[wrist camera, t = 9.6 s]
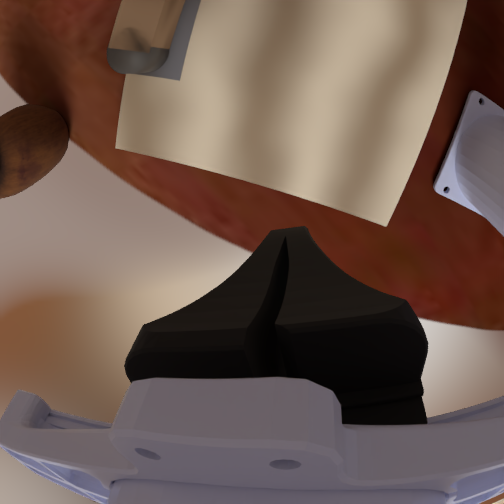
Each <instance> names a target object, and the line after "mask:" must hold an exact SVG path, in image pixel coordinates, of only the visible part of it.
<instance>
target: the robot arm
mask: <svg viewBox="0 0 504 504" xmlns="http://www.w3.org/2000/svg"><path fill="white" fill-rule="evenodd" d="M480 98H481V100H482V103H481V104H479V99H480ZM446 186H447V187H448V188H447V190H446V191H443V190H444V188H445V187H446ZM433 187H434V190H435V191H436V192H437V193H438V194H441V195H443V196H445V197H447V198H449V199H451V200H453V201H455V202H457V203H459V204H461V205H463V206H465V207H467V208H469V209H471V210H473V211H475V212H477V213H479V214H480V215H482V216H484V217H485V218H486V219H487V220H488V221H489V222H490V223H491V224H492V225H493V226H494V227H495V228H496V229H497V230H498V231H499V232H500V233H501V234H502V235H503V236H504V110H503V109H502V108H501V107H499V106H498V105H497V104H495V103H494V102H492V101H491V100H489V99H488V98H487V97H485V96H484V95H482V94H481V93H479V92H477V91H471V92H470V93H469V95H468V98H467V101H466V104H465V106H464V109H463V112H462V115H461V118H460V120H459V123H458V126H457V129H456V131H455V134H454V136H453V139H452V142H451V144H450V147H449V149H448V152H447V154H446V156H445V159H444V161H443V164H442V166H441V168H440V171H439V173H438V175H437V177H436V180H435V182H434V185H433ZM427 353H428V341H427V338H426V335H425V332H424V329H423V327H422V325H421V323H420V321H419V319H418V317H417V316H416V314H415V312H414V311H413V309H412V308H411V306H410V305H409V303H408V302H407V301H406V300H405V299H401V298H398V297H395V296H392V295H389V294H386V293H383V292H380V291H378V290H376V289H373V288H371V287H369V286H367V285H365V284H363V283H361V282H359V281H357V280H356V279H354V278H352V277H351V276H349V275H348V274H346V273H345V272H344V271H342V270H341V269H340V268H339V267H338V266H336V265H335V264H334V263H333V262H332V261H331V260H330V259H329V258H328V257H327V256H326V255H325V254H324V253H323V251H322V250H321V249H320V248H319V247H318V245H317V244H316V243H315V241H314V240H313V238H312V237H311V235H310V233H309V231H308V228H306V227H305V226H301V227H294V228H286V229H279V230H272V231H270V233H269V234H268V235H267V236H266V238H265V239H264V240H263V241H262V243H261V244H260V245H259V246H258V248H257V249H256V250H255V251H254V252H253V254H252V255H251V256H250V257H249V258H248V259H247V260H246V261H245V262H244V263H243V264H242V265H241V266H240V268H239V269H238V270H237V271H235V272H234V273H233V274H232V275H231V276H230V277H229V278H227V279H226V280H225V281H224V282H223V283H221V284H220V285H219V286H218V287H216V288H214V289H213V290H211V291H210V292H209V293H207V294H206V295H204V296H203V297H201V298H200V299H198V300H196V301H195V302H193V303H191V304H189V305H187V306H186V307H183V308H182V309H180V310H178V311H176V312H173V313H172V314H169V315H167V316H164V317H162V318H160V319H157V320H155V321H152V322H150V323H147V324H144V325H143V326H142V328H141V330H140V332H139V334H138V336H137V338H136V340H135V342H134V344H133V346H132V348H131V350H130V352H129V354H128V356H127V358H126V361H125V365H124V367H125V371H126V375H127V377H128V378H129V380H130V382H131V385H130V386H129V388H128V389H127V391H126V393H125V396H124V398H123V400H122V402H121V405H120V407H119V409H118V412H117V414H116V417H115V419H114V421H113V424H112V423H107V422H102V421H97V420H93V419H88V418H84V417H79V416H75V415H71V414H67V413H63V412H59V411H56V410H52V409H51V408H50V407H49V406H48V404H47V403H46V402H45V401H44V400H43V399H42V398H41V397H39V396H38V395H36V394H33V393H30V392H26V391H23V390H17V392H16V394H15V395H14V397H13V399H12V400H11V402H10V404H9V405H8V407H7V409H6V411H5V412H4V414H3V416H2V418H1V419H0V447H1V448H3V449H4V450H5V451H6V452H8V453H9V454H10V455H11V456H13V457H14V458H15V459H16V460H18V461H19V462H20V463H22V464H23V465H24V466H26V467H27V468H29V469H30V470H31V471H33V472H34V473H36V474H38V475H40V476H42V477H44V478H46V479H48V480H50V481H52V482H54V483H56V484H58V485H60V486H62V487H65V488H67V489H69V490H71V491H73V492H75V493H78V494H80V495H82V496H84V497H87V498H89V499H91V500H94V501H96V502H98V503H101V504H479V503H481V502H483V501H486V500H488V499H490V498H493V497H495V496H497V495H499V494H501V493H503V492H504V396H502V397H499V398H496V399H493V400H490V401H487V402H484V403H481V404H478V405H475V406H471V407H468V408H464V409H461V410H457V411H454V412H450V413H446V414H442V415H438V416H434V417H430V418H427V417H426V412H425V408H424V404H423V401H422V396H423V393H424V389H423V386H422V382H421V376H422V372H423V368H424V364H425V361H426V357H427Z"/></svg>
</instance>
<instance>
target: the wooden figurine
mask: <svg viewBox="0 0 504 504" xmlns="http://www.w3.org/2000/svg"><path fill="white" fill-rule="evenodd" d="M68 141H69V135H68V127H67V125H66V123H65V121H64V119H63V117H62V116H61V115H60V114H59V113H58V112H57V111H55V110H53V109H50V108H47V107H44V106H40V105H30V104H26V105H23V106H19V107H16V108H15V109H13V110H11V111H9V112H7V113H5V114H3V115H2V116H0V199H1V198H5V197H9V196H12V195H16V194H17V193H20V192H22V191H23V190H25V189H27V188H28V187H30V186H32V185H33V184H34V183H36V182H37V181H39V180H40V179H41V178H43V177H44V176H45V175H46V174H48V173H49V172H50V171H51V170H52V169H53V168H54V167H55V166H56V165H57V164H58V163H59V162H60V160H61V159H62V157H63V156H64V154H65V152H66V150H67V148H68Z"/></svg>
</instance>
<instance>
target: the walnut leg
mask: <svg viewBox="0 0 504 504" xmlns="http://www.w3.org/2000/svg"><path fill="white" fill-rule="evenodd" d="M184 3H185V0H122V2H121V5H120V8H119V11H118V14H117V18H116V21H115V25H114V28H113V32H112V35H111V39H110V42H109V45H108V48H107V60H108V63H109V65H110V66H111V68H112V69H113V70H115V71H116V72H118V73H121V74H131V73H147V72H153V71H155V70H157V69H159V68H160V67H161V66H162V65H163V64H164V63H165V62H166V60H167V58H168V55H169V49H170V46H171V42H172V39H173V36H174V33H175V30H176V26H177V23H178V20H179V17H180V14H181V11H182V8H183V6H184Z"/></svg>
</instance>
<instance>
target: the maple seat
mask: <svg viewBox="0 0 504 504" xmlns="http://www.w3.org/2000/svg"><path fill="white" fill-rule="evenodd" d="M466 4H467V0H185V3H184V6H183V8H182V11H181V14H180V17H179V20H178V23H177V26H176V30H175V33H174V36H173V39H172V42H171V46H170V49H169V55H168V58H167V60H166V62H165V63H164V64H163V65H162V66H161V67H160V68H159V69H157V70H155V71H153V72H147V73H131V74H126V77H125V83H124V89H123V95H122V101H121V108H120V115H119V122H118V130H117V138H116V147H115V148H117V149H122V150H126V151H131V152H135V153H140V154H144V155H148V156H153V157H157V158H161V159H165V160H169V161H173V162H177V163H181V164H185V165H189V166H193V167H197V168H201V169H205V170H208V171H212V172H216V173H219V174H223V175H227V176H230V177H234V178H237V179H241V180H244V181H248V182H251V183H255V184H258V185H262V186H265V187H268V188H272V189H275V190H278V191H282V192H285V193H288V194H291V195H295V196H298V197H301V198H304V199H307V200H310V201H313V202H316V203H320V204H323V205H326V206H329V207H332V208H335V209H338V210H341V211H344V212H346V213H349V214H352V215H355V216H358V217H361V218H364V219H367V220H369V221H372V222H375V223H378V224H381V225H383V226H387V224H388V222H389V220H390V218H391V216H392V214H393V211H394V209H395V207H396V205H397V203H398V201H399V199H400V196H401V194H402V192H403V190H404V187H405V185H406V183H407V181H408V178H409V176H410V174H411V171H412V169H413V167H414V164H415V162H416V159H417V157H418V155H419V152H420V150H421V147H422V145H423V142H424V139H425V137H426V134H427V132H428V129H429V126H430V124H431V121H432V118H433V116H434V113H435V110H436V107H437V104H438V102H439V99H440V96H441V93H442V90H443V87H444V84H445V81H446V78H447V74H448V71H449V68H450V65H451V61H452V58H453V55H454V51H455V48H456V44H457V40H458V37H459V33H460V29H461V25H462V21H463V17H464V13H465V8H466Z"/></svg>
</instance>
